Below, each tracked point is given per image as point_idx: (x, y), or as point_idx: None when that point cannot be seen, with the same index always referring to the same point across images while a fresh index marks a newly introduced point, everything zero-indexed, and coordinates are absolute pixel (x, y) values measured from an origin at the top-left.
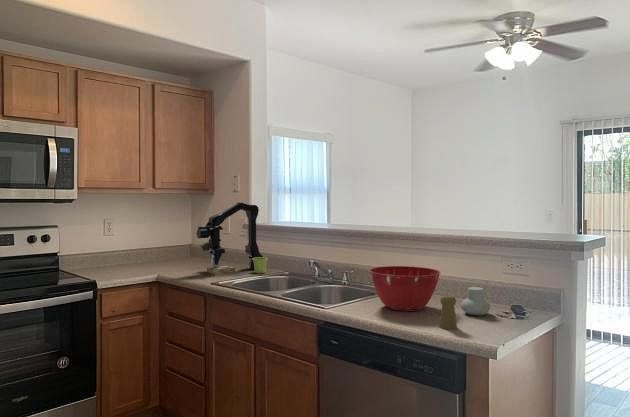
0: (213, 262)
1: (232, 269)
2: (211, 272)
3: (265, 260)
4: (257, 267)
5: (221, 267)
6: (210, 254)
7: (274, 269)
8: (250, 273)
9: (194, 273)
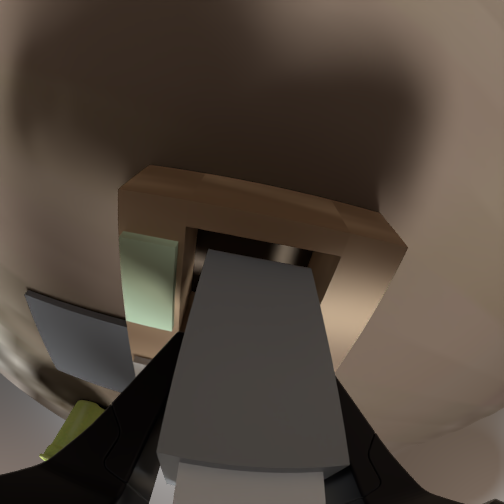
0: (183, 342)
1: None
2: (151, 175)
3: None
4: (66, 425)
5: None
6: (426, 493)
7: None
8: (102, 394)
9: (426, 60)
